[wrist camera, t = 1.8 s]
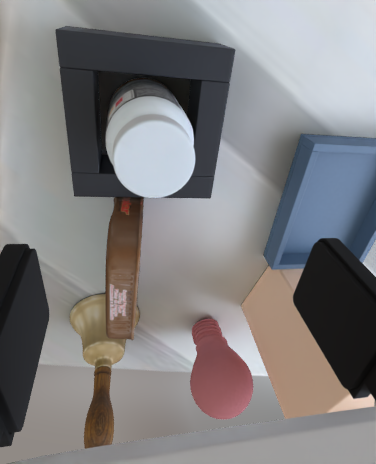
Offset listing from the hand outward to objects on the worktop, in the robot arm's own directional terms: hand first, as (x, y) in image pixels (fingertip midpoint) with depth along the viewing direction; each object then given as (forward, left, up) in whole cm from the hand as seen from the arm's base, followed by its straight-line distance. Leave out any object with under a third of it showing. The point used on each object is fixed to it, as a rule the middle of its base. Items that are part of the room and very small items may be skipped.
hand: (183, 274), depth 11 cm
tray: (+8, +20, -19) cm, 28 cm away
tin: (+13, -2, -19) cm, 23 cm away
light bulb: (+27, +9, -19) cm, 34 cm away
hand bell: (+24, -4, -19) cm, 31 cm away
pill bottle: (0, 0, -19) cm, 19 cm away
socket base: (0, 0, -19) cm, 19 cm away
